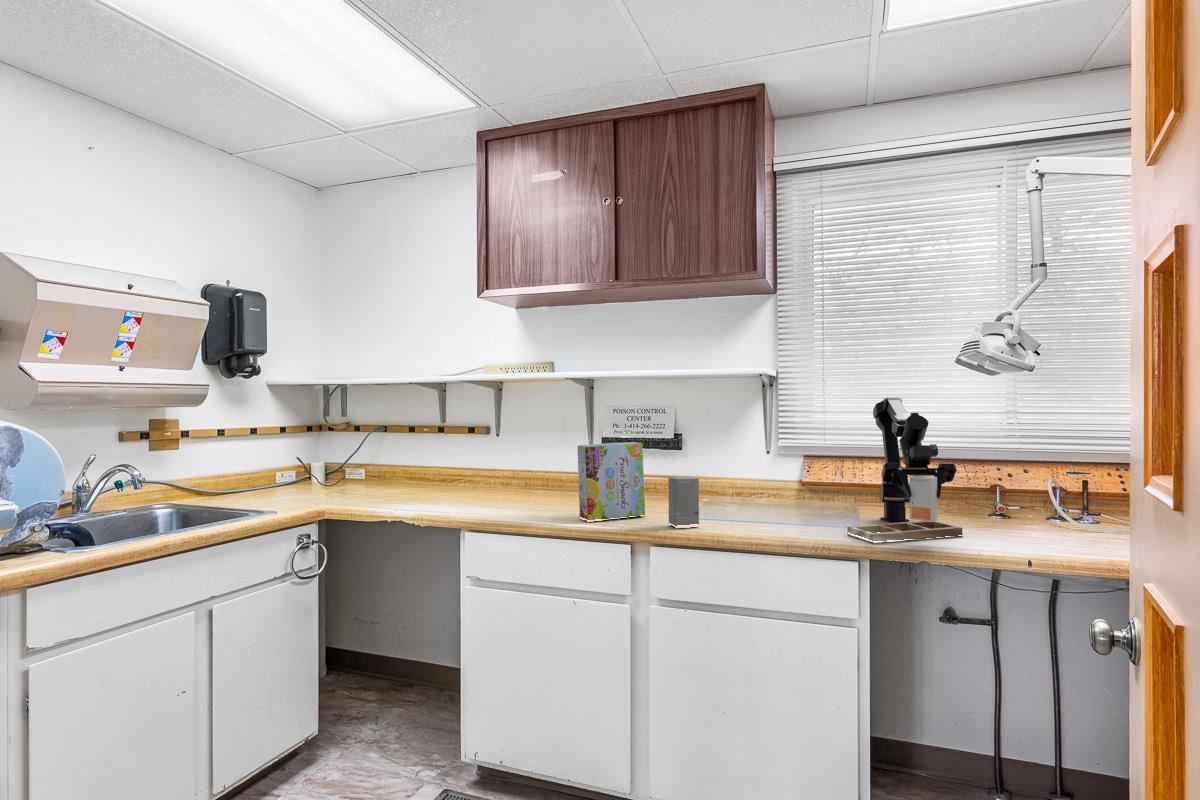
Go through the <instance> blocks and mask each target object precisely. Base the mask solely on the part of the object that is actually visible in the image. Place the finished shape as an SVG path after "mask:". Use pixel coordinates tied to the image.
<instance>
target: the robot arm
mask: <svg viewBox="0 0 1200 800" xmlns="http://www.w3.org/2000/svg"><path fill="white" fill-rule="evenodd" d="M872 411H873V412H872V415H873V419H875V425H876V426H877V428H878V429H879V430H880V431H881V434H882V435H881V436H882V443H883V445H882V446H883V452H884V464H883V465H882V469H881V482H882V483H881V484H880V488H879V492H878V499H879V501H880V502H882V503H883V516H881V517H879V519H880V520H883V521H885V522H886V521H887V522H889V523H901V522H910V518H907V516H906V512H907V510H906V503H908V504H910V497H911V491H910V482H909V479H908V478H909V476H910V477H911V476H929V477H937V499H938V498H940V497H941V492H942V485H944V484H945V483H951V482H953V481H954V478H955V475H956V473H957V470H958V469H957V467H956V464H955V463H954V462H939V463H938V465H937V468H936V467H930V468H929V466H930V465H931V458H932V457H933V458H936V457H937V456H938V455H939V448H938V445H937V444H935V443H933V444H932V443H930V444H929V445H927V444H926V445H923V444H922V441H924V440H925V437H926V433H927V429H928V426H929V420H928V419H927V418H926V417H924V416H922V415H920V414H919V412H910V414H909V413H908V411H907V409H906V408H905V406H904V405H903V400H902V398H901V397H899V396H897V397H896V396H895V397H892V396H891V397H890V396H889V397H888V396H887V397H885V398H883V400H881V401H880V402H878V403H876V404H875V405H874V407H873V410H872ZM898 438H900V439H898ZM898 441H899V442H898ZM899 446H900V448H899ZM900 450H901V454H902V458H903V459H902V463H903V465H905V466H904V467H903V466H902V464H901V459H900V457H901V456H900Z"/></svg>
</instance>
